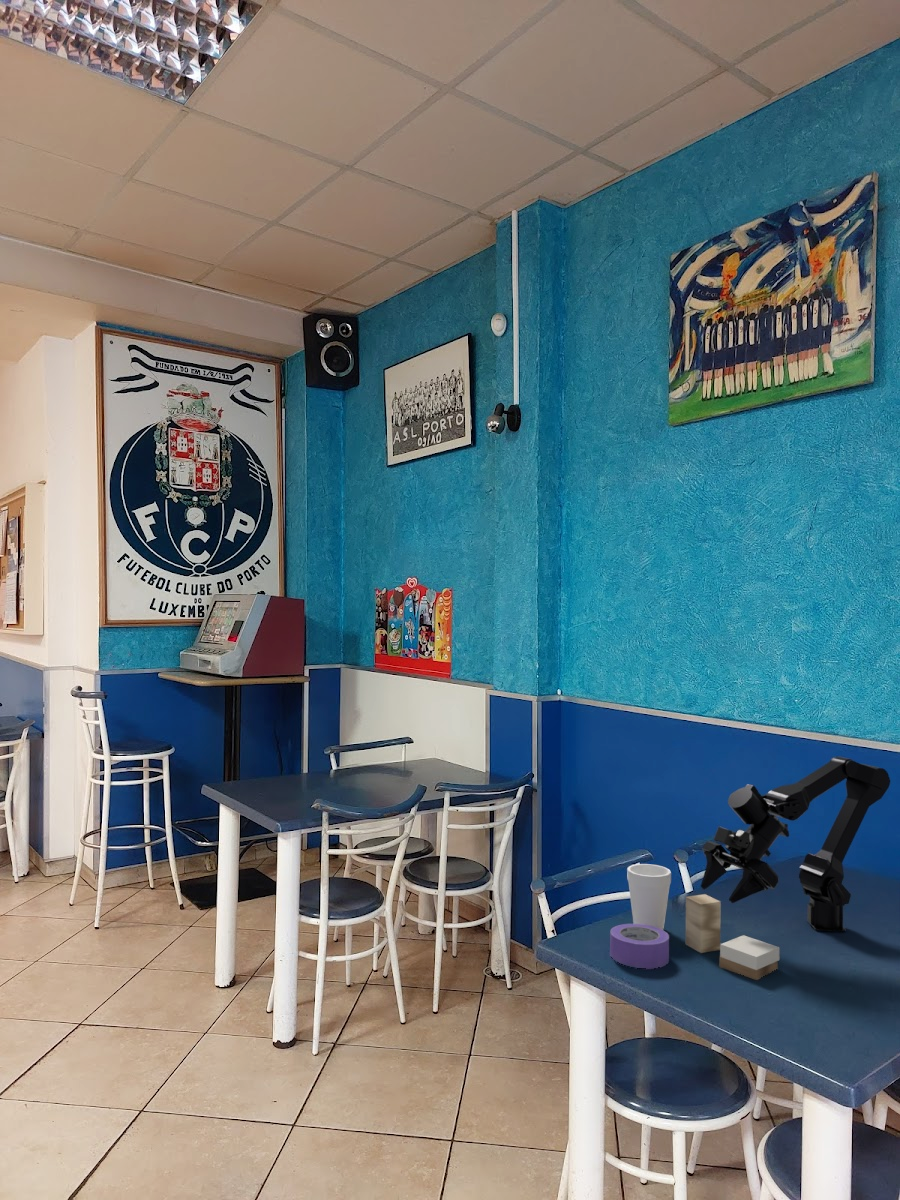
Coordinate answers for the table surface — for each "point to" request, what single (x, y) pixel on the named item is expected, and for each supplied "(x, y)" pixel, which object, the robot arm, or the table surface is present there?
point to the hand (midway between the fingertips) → (716, 894)
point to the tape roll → (639, 945)
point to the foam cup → (649, 893)
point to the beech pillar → (703, 923)
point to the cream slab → (749, 952)
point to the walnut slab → (747, 968)
